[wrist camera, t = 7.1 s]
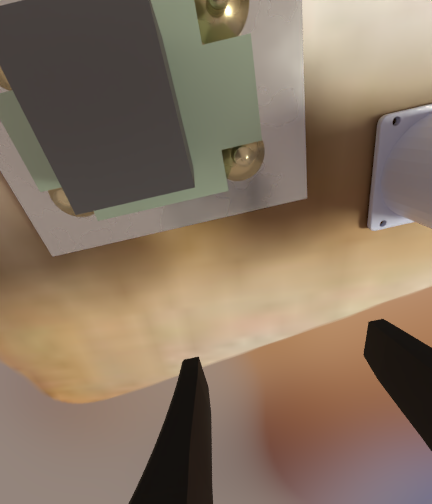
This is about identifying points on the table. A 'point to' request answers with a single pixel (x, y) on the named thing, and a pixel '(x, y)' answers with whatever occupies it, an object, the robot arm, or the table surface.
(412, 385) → the robot arm
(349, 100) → the table surface
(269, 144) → the plate
